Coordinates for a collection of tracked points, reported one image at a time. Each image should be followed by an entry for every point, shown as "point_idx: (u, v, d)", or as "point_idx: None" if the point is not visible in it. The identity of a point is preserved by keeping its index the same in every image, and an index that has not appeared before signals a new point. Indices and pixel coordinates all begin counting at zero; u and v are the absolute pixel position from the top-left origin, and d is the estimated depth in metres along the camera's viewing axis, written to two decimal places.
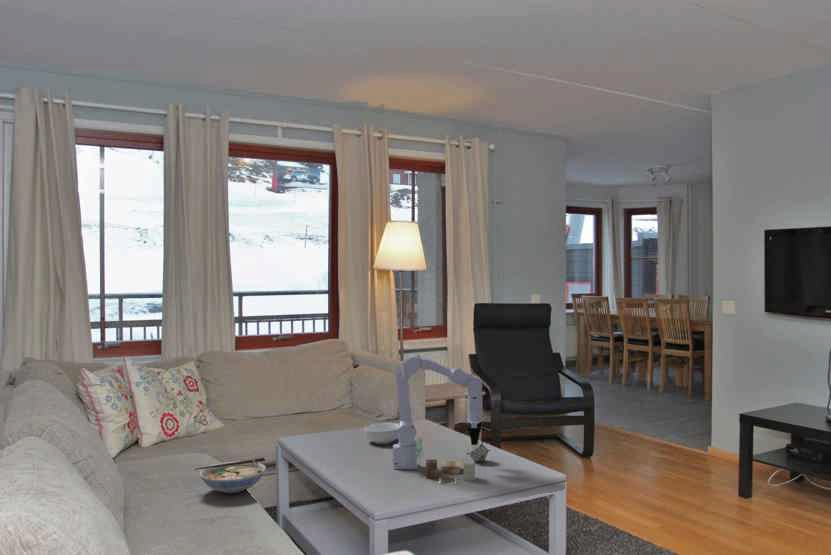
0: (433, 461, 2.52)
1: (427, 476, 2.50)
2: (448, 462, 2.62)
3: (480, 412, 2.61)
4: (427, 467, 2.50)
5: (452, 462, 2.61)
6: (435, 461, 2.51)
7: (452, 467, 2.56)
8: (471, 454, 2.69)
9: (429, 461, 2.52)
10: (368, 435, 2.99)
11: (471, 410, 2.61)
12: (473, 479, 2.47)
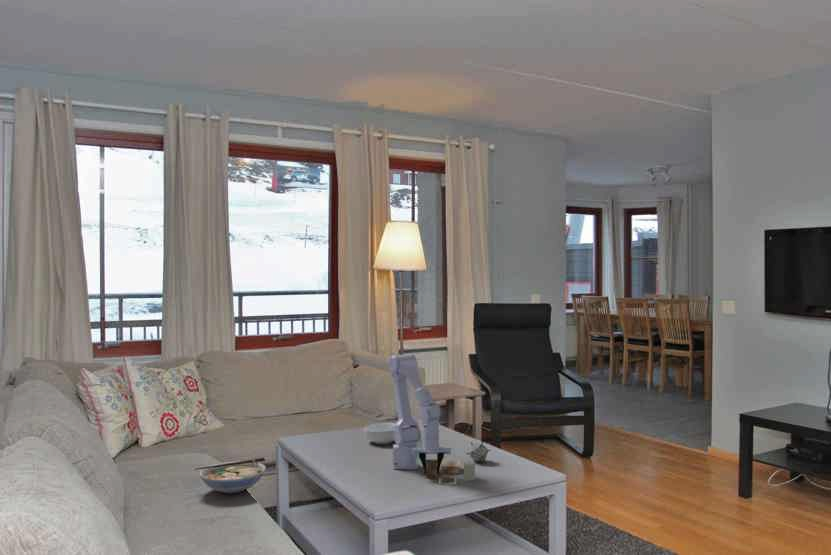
0: (433, 461, 2.52)
1: (427, 476, 2.50)
2: (448, 462, 2.62)
3: (426, 442, 2.50)
4: (427, 467, 2.50)
5: (452, 462, 2.61)
6: (435, 461, 2.51)
7: (451, 467, 2.56)
8: (471, 454, 2.69)
9: (429, 461, 2.52)
10: (368, 435, 2.99)
11: None
12: (473, 479, 2.47)
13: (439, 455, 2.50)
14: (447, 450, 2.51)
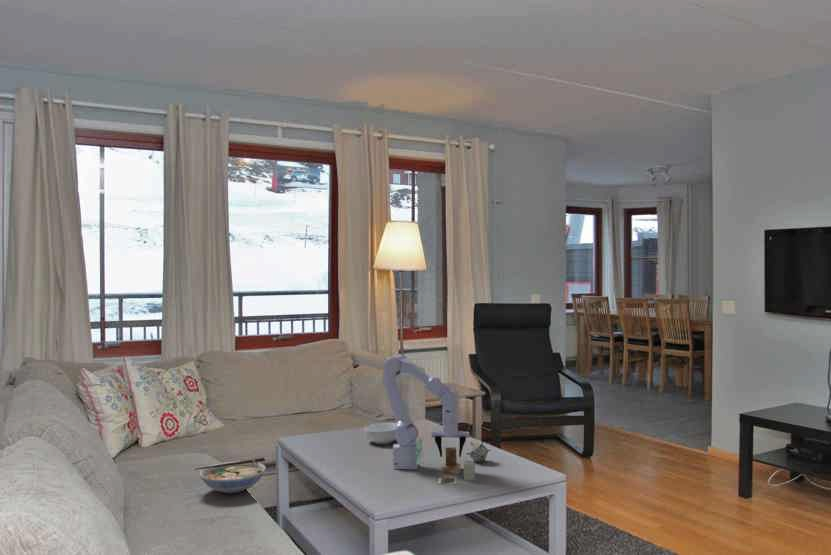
0: (452, 449, 2.59)
1: (447, 463, 2.57)
2: None
3: (445, 426, 2.57)
4: (447, 455, 2.57)
5: None
6: (454, 449, 2.59)
7: (451, 467, 2.56)
8: (471, 454, 2.69)
9: (449, 449, 2.59)
10: (368, 435, 2.99)
11: None
12: (473, 479, 2.47)
13: None
14: (465, 434, 2.58)
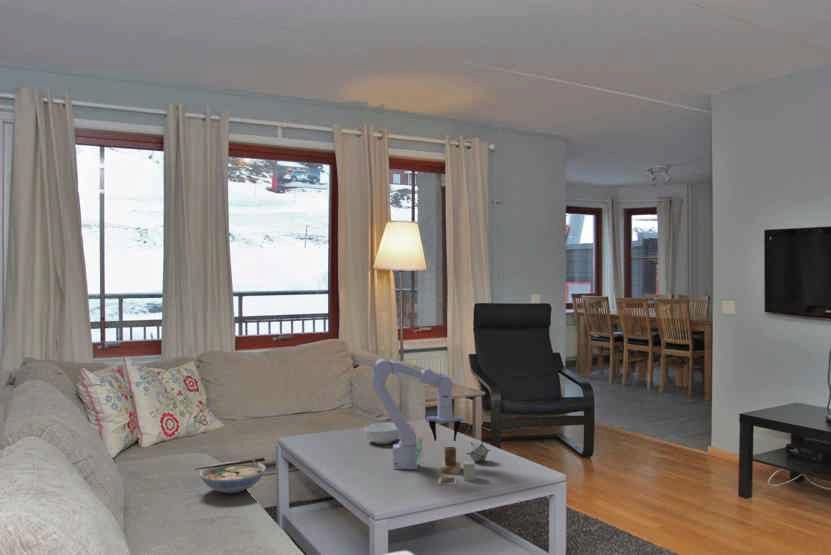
0: (452, 448, 2.59)
1: (446, 463, 2.58)
2: None
3: (440, 411, 2.65)
4: (446, 454, 2.58)
5: None
6: (454, 448, 2.59)
7: (451, 467, 2.56)
8: (471, 454, 2.69)
9: (448, 448, 2.59)
10: (368, 435, 2.99)
11: None
12: (473, 479, 2.47)
13: None
14: (459, 418, 2.65)
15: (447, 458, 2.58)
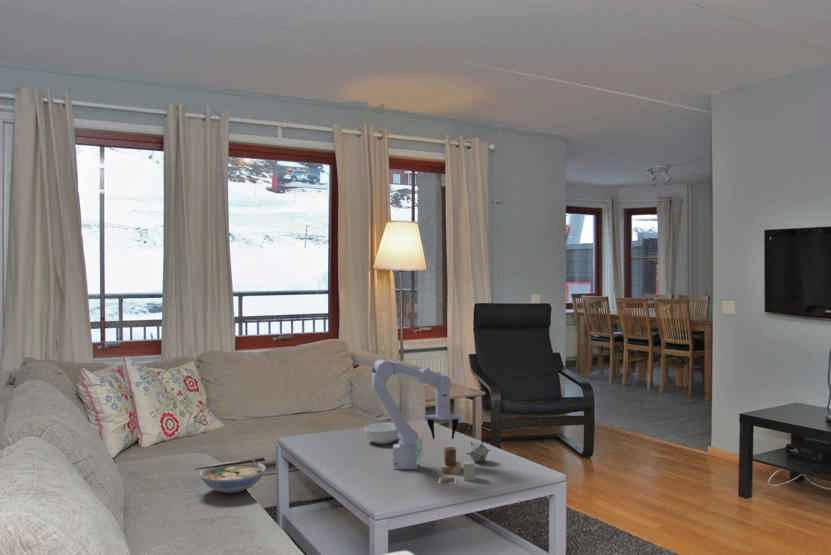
0: (452, 448, 2.59)
1: (446, 463, 2.58)
2: None
3: (438, 409, 2.67)
4: (446, 454, 2.57)
5: None
6: (453, 448, 2.59)
7: (452, 467, 2.56)
8: (471, 454, 2.69)
9: (448, 448, 2.59)
10: (368, 435, 2.99)
11: None
12: (473, 479, 2.47)
13: None
14: (457, 417, 2.68)
15: (447, 458, 2.57)
